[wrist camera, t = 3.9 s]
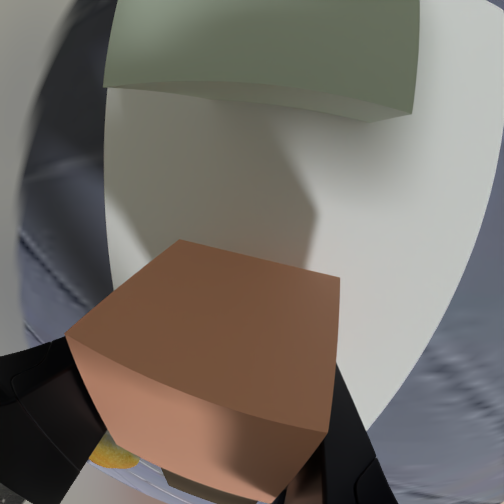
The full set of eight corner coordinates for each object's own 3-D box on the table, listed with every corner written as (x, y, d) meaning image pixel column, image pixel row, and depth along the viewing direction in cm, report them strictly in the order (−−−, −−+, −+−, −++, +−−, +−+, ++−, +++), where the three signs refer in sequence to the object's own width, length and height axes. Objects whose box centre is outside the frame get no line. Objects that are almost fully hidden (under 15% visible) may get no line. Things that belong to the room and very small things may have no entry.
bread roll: (152, 454, 23) (135, 482, 19) (124, 456, 27) (110, 477, 23) (88, 404, 22) (66, 430, 18) (73, 414, 26) (56, 435, 22)
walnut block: (270, 450, 14) (249, 512, 10) (199, 428, 15) (168, 485, 11) (286, 414, 12) (261, 494, 8) (197, 387, 13) (156, 458, 9)
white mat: (331, 462, 14) (330, 469, 14) (146, 406, 17) (142, 412, 16) (496, 14, 4) (503, 10, 3) (139, -25, 6) (130, -29, 6)
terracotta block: (301, 387, 9) (270, 503, 5) (181, 351, 10) (116, 444, 6) (340, 277, 7) (327, 433, 3) (179, 238, 8) (64, 333, 4)
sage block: (369, 123, 7) (412, 113, 3) (211, 99, 8) (102, 87, 4) (382, -13, 5) (406, -105, 1) (231, -25, 6) (154, -98, 2)
